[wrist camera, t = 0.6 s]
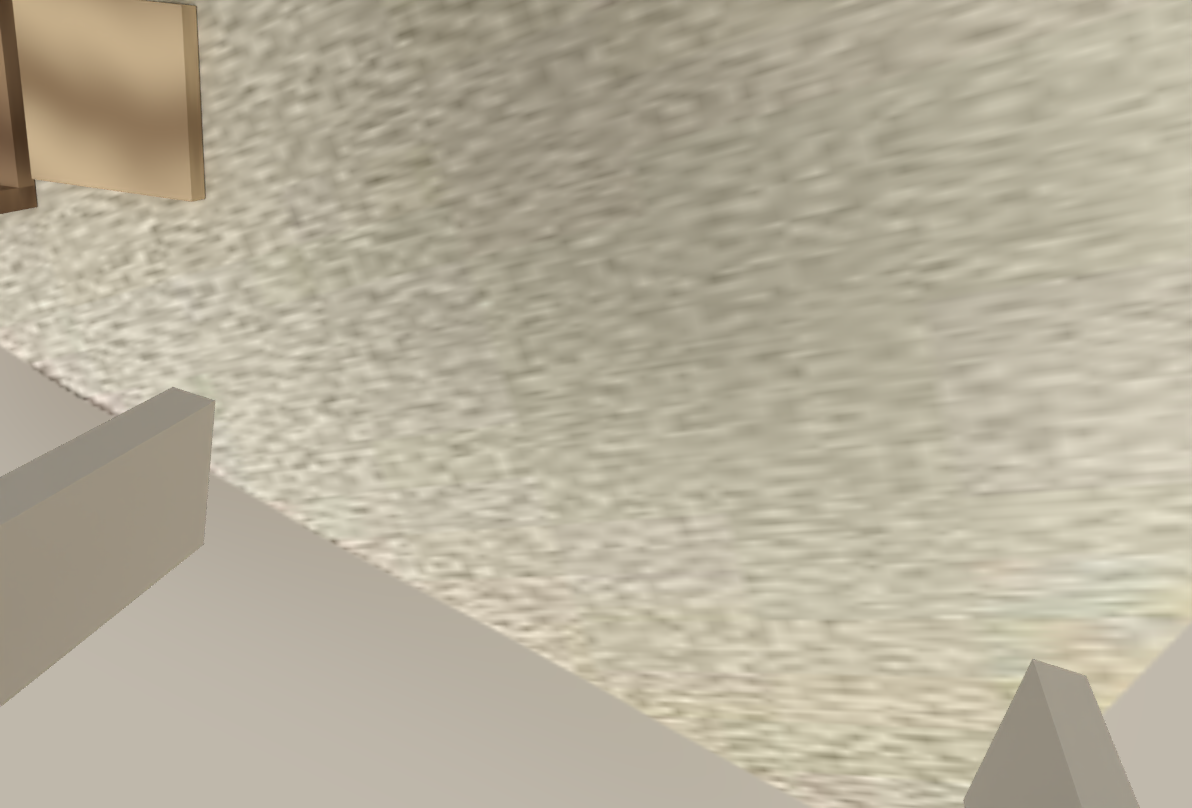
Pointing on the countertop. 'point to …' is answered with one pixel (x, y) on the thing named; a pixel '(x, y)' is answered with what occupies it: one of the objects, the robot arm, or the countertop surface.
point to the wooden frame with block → (12, 123)
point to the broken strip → (112, 95)
